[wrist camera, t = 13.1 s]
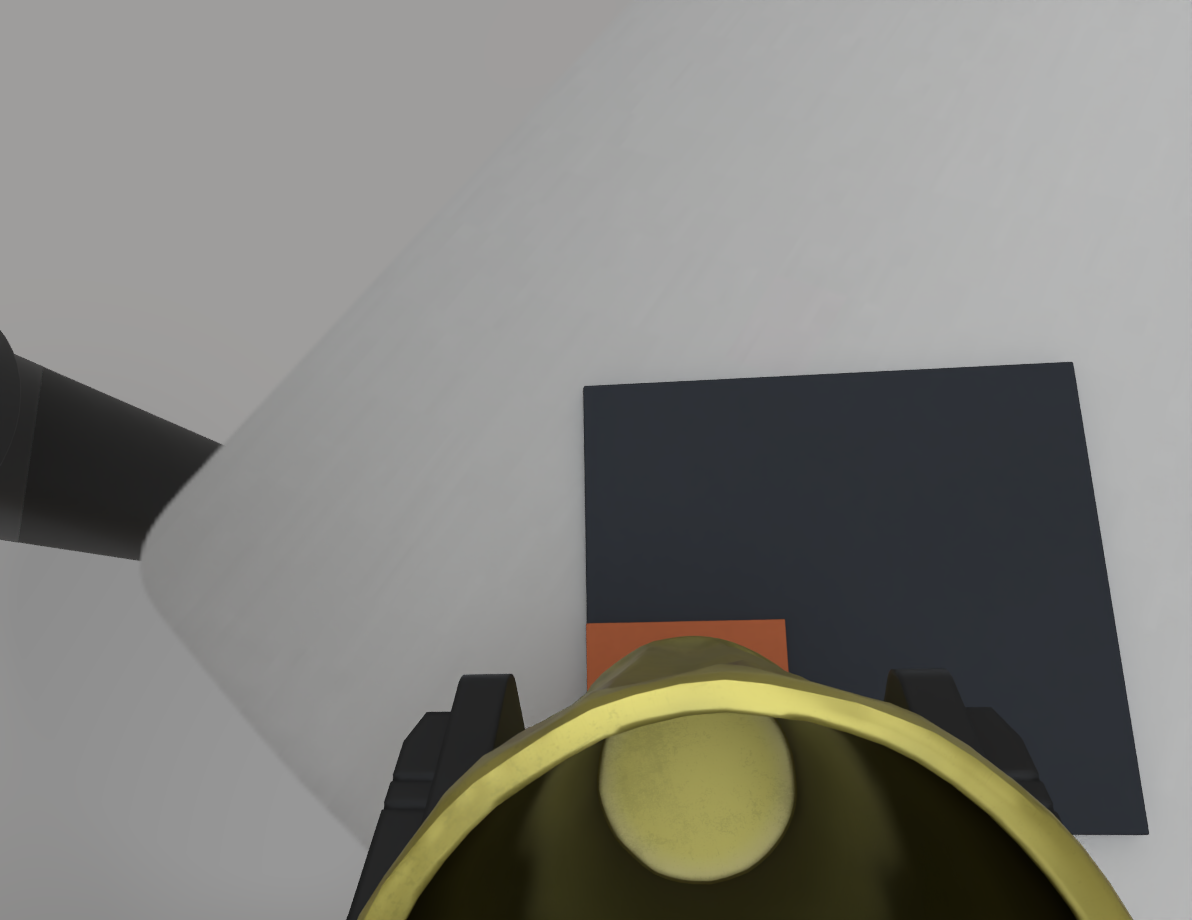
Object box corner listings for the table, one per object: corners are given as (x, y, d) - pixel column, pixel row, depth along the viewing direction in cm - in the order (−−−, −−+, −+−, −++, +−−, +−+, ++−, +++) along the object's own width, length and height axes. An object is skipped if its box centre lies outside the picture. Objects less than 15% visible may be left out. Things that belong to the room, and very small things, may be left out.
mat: (591, 829, 28) (589, 834, 27) (585, 390, 31) (582, 383, 31) (1140, 831, 26) (1153, 836, 25) (1065, 366, 30) (1076, 359, 29)
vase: (510, 784, 19) (24, 1168, 5) (677, 582, 19) (671, 412, 6) (716, 984, 17) (865, 2325, 3) (888, 759, 18) (1589, 1124, 4)
